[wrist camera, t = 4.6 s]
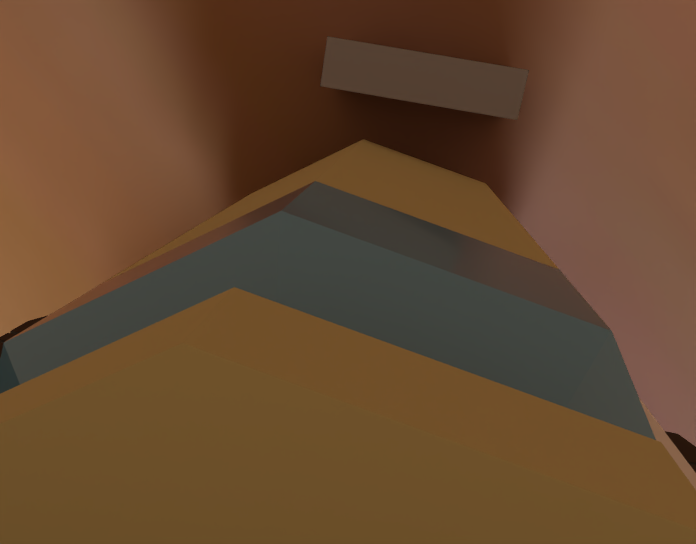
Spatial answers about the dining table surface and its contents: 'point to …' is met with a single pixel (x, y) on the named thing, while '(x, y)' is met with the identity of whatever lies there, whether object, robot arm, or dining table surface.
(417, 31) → the dining table surface
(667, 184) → the dining table surface
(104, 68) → the dining table surface
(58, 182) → the dining table surface
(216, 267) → the jar
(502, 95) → the block
